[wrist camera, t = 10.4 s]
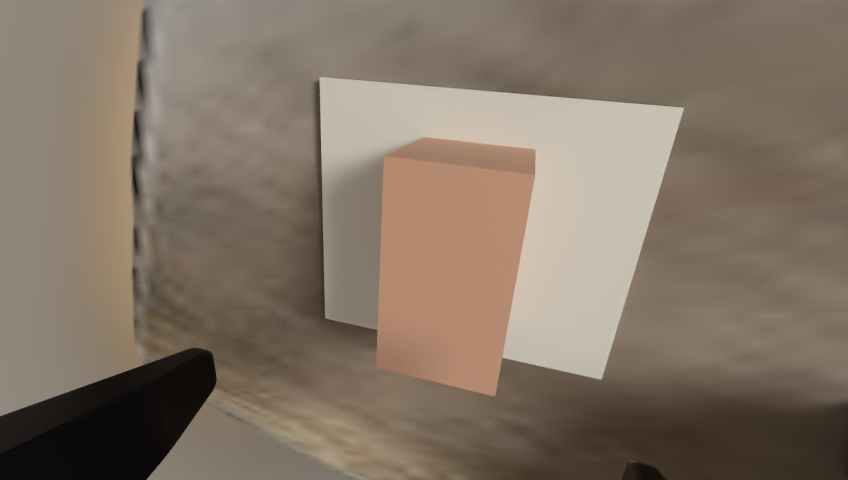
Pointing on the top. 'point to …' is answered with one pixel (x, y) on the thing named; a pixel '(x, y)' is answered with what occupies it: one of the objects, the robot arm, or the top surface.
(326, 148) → the mat
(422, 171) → the tan rectangular block
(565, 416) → the top surface
